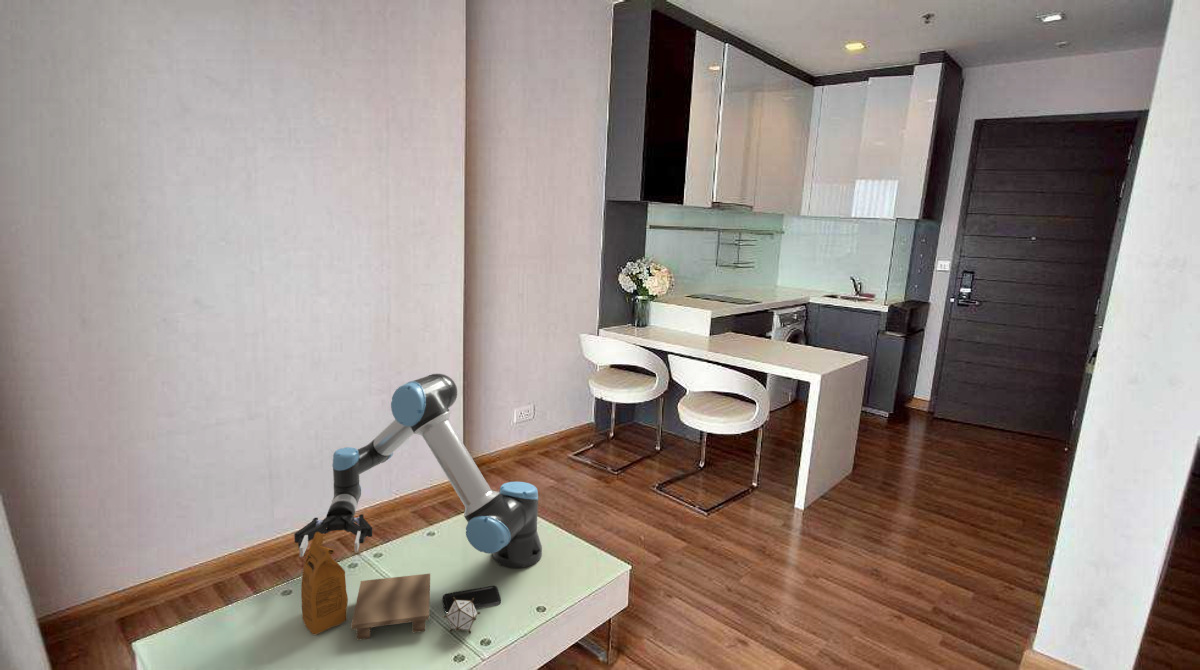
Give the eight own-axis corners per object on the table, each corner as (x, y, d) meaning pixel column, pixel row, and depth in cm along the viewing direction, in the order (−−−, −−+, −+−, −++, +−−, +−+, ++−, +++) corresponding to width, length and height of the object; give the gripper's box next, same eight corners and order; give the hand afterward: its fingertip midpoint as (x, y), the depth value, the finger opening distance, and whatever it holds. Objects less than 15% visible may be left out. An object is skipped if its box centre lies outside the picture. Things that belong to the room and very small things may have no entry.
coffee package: (339, 598, 157) (335, 523, 153) (351, 624, 148) (348, 545, 144) (298, 612, 151) (293, 534, 147) (308, 640, 142) (304, 557, 138)
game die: (463, 647, 147) (456, 635, 140) (440, 624, 150) (433, 611, 143) (489, 617, 152) (484, 605, 144) (466, 596, 155) (460, 583, 148)
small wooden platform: (430, 589, 163) (430, 573, 162) (429, 633, 146) (429, 615, 145) (361, 597, 158) (360, 580, 157) (351, 643, 141) (351, 625, 140)
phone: (442, 594, 160) (496, 584, 165) (442, 598, 160) (496, 588, 166) (445, 612, 153) (501, 601, 158) (445, 616, 153) (501, 605, 158)
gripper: (385, 519, 181) (378, 558, 161) (297, 526, 174) (278, 567, 154) (385, 497, 179) (378, 533, 159) (296, 503, 173) (276, 541, 153)
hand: (328, 550), depth 157 cm, fingers open, 13 cm apart
